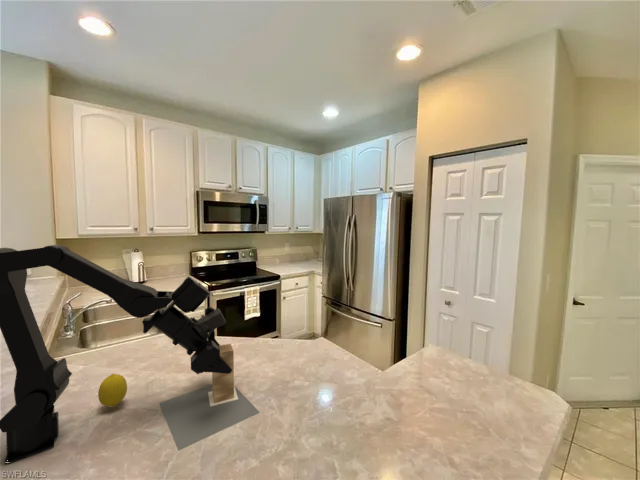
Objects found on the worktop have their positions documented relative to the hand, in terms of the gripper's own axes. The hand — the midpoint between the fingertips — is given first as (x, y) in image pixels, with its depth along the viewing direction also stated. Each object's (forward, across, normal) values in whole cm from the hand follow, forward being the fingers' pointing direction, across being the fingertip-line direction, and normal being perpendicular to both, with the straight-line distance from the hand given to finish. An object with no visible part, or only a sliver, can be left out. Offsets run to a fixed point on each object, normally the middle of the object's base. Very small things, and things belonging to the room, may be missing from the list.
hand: (228, 363), depth 70 cm
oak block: (+5, 0, +7) cm, 8 cm away
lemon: (-12, +8, +24) cm, 28 cm away
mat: (+2, -3, +10) cm, 11 cm away
